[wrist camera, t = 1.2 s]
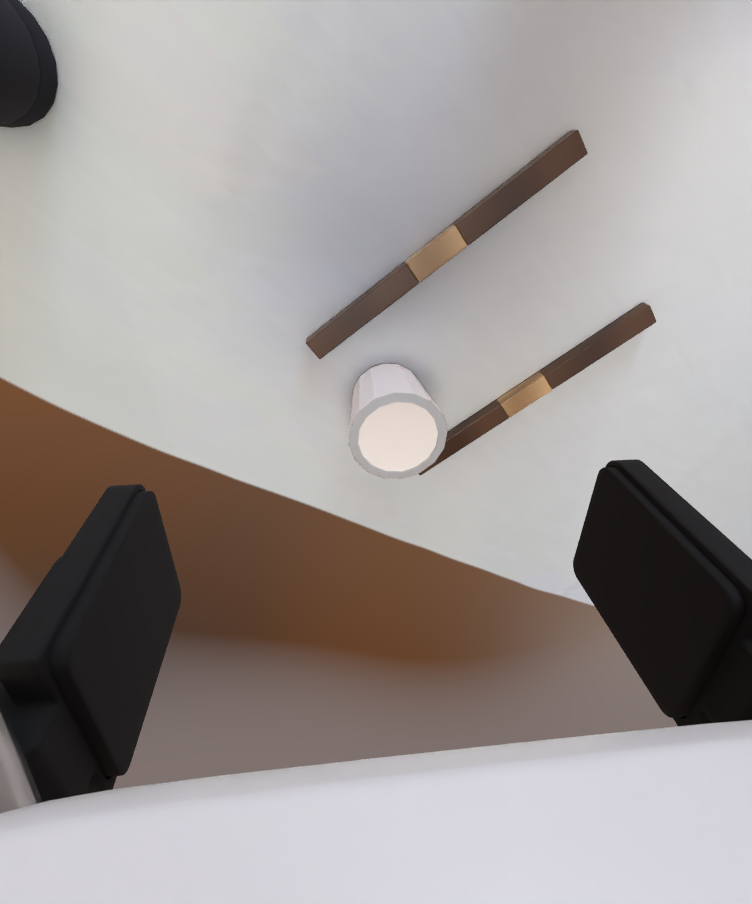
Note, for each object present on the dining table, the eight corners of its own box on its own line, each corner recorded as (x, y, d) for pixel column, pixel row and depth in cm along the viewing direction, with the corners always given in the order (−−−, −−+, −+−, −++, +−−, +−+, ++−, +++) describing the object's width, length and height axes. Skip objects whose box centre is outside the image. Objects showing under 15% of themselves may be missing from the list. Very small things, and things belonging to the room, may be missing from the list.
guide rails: (571, 129, 31) (578, 128, 30) (649, 318, 38) (657, 321, 37) (306, 338, 36) (305, 343, 35) (418, 469, 43) (420, 475, 42)
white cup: (442, 409, 40) (463, 453, 34) (369, 446, 41) (377, 494, 35) (406, 339, 37) (422, 374, 31) (328, 382, 38) (329, 423, 32)
